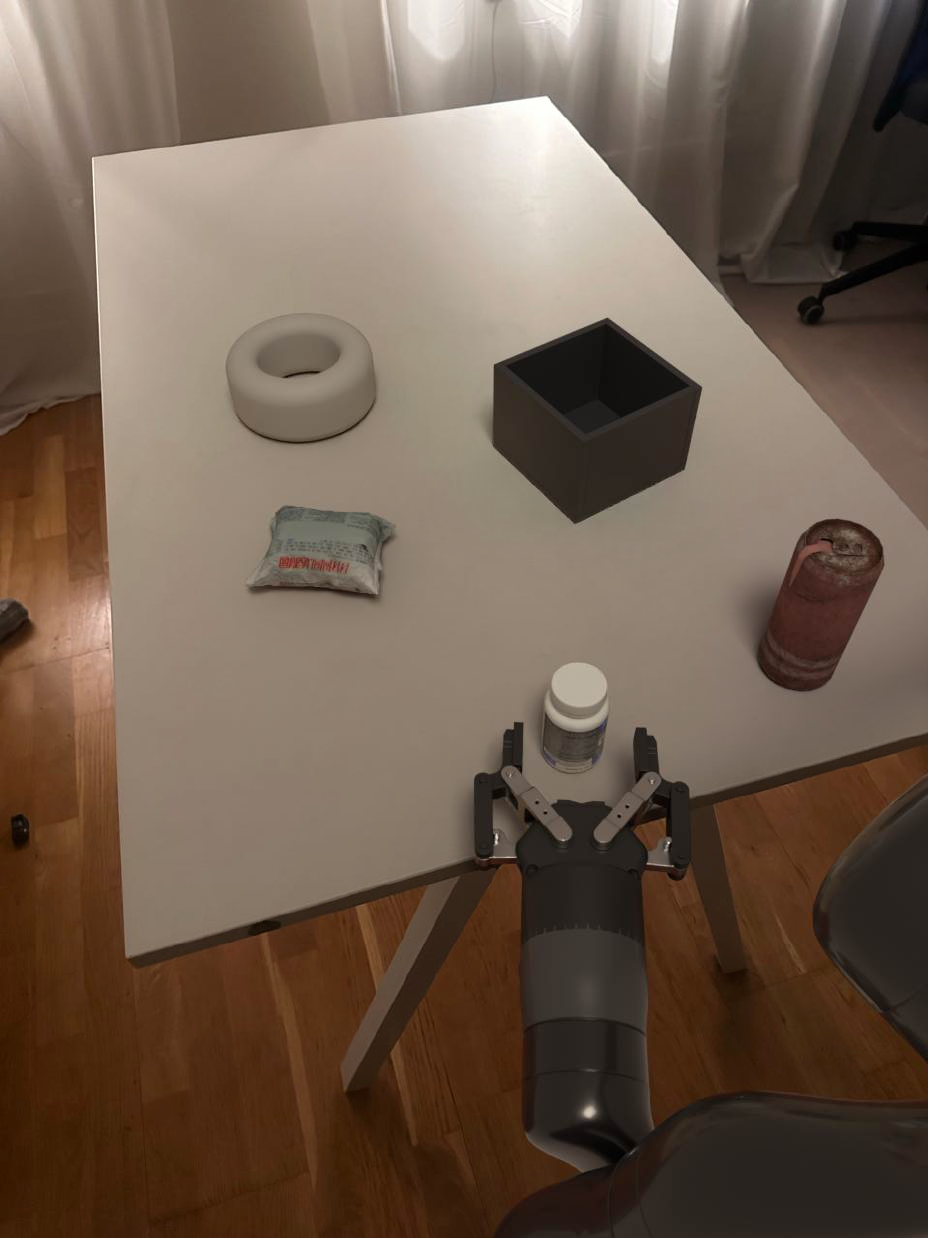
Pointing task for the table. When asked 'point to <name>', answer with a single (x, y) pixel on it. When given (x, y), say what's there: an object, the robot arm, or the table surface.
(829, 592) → the can
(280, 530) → the packaged food
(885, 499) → the table surface
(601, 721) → the pill bottle
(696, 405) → the trash bin
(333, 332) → the donut shape
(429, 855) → the table surface
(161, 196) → the table surface
